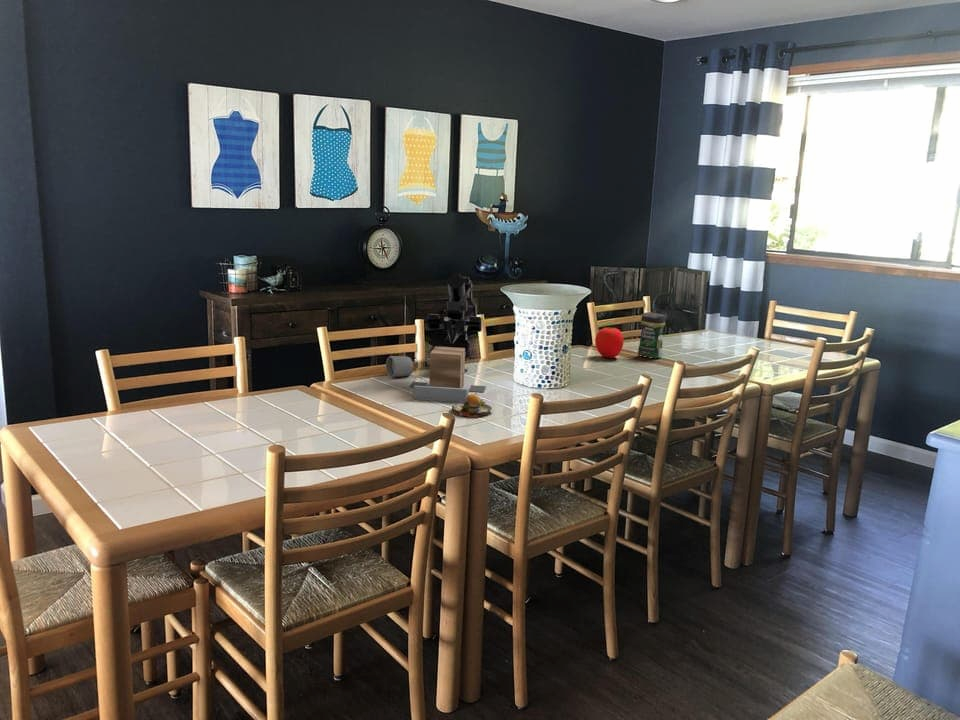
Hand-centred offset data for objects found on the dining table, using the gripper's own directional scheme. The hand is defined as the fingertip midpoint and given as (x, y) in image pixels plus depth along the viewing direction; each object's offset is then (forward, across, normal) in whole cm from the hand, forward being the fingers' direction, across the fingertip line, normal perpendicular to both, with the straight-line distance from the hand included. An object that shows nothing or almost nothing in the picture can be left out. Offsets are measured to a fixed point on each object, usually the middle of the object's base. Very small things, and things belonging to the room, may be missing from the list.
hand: (451, 342), depth 264 cm
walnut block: (+17, 0, +3) cm, 17 cm away
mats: (+15, 0, +4) cm, 16 cm away
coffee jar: (-36, +75, +55) cm, 100 cm away
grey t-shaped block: (+25, 0, -5) cm, 25 cm away
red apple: (-31, +58, +51) cm, 83 cm away
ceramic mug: (+7, -20, +13) cm, 24 cm away
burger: (+36, +11, -16) cm, 40 cm away
